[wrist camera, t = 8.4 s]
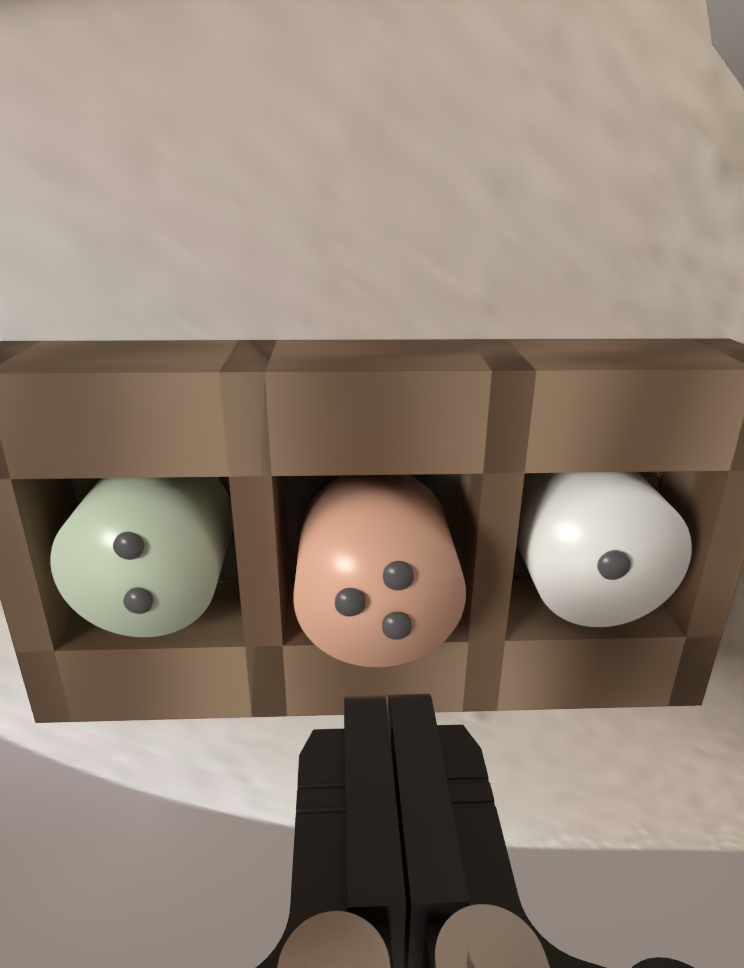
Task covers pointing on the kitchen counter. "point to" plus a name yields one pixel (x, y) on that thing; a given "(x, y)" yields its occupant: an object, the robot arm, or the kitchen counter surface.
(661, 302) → the kitchen counter surface
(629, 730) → the kitchen counter surface
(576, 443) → the wooden compartment tray
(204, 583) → the button two
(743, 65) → the cup
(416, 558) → the button three
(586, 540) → the button one
